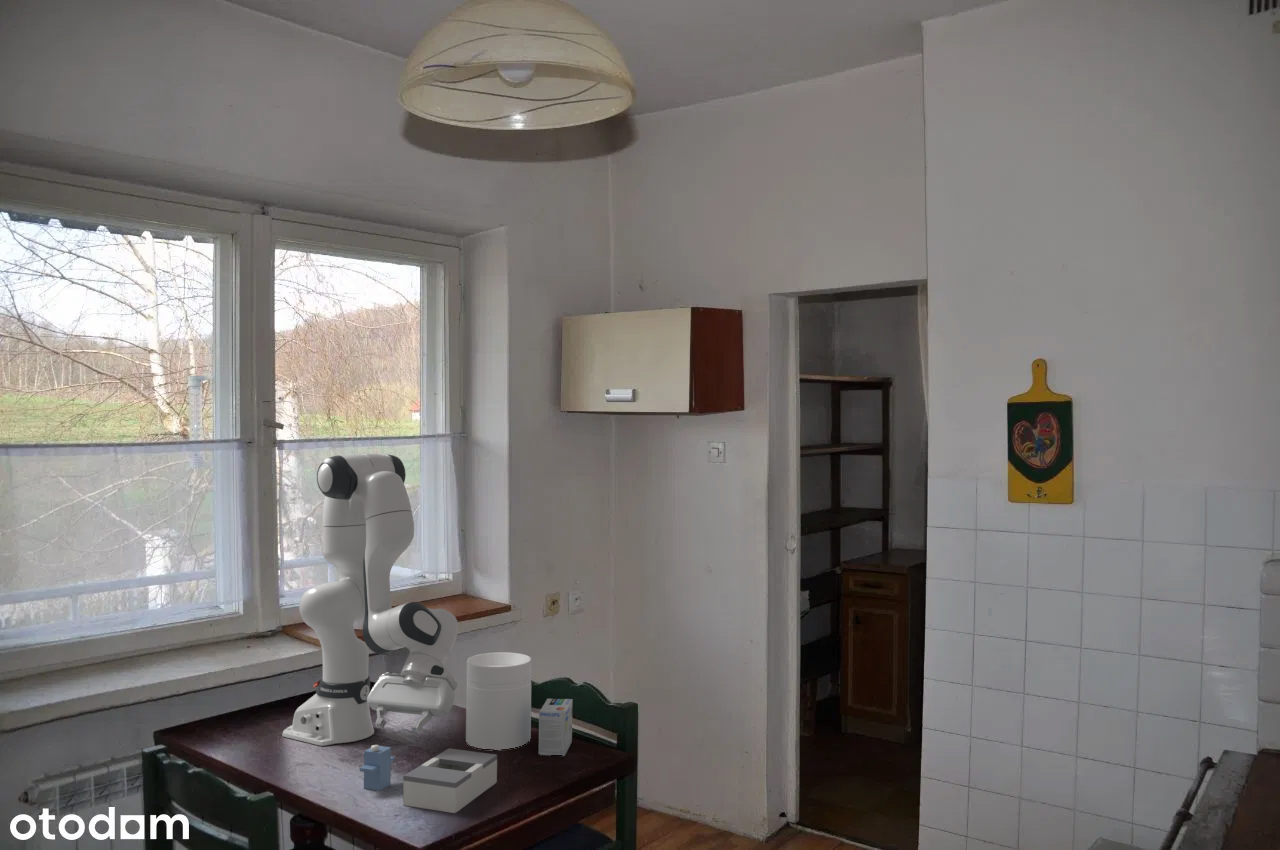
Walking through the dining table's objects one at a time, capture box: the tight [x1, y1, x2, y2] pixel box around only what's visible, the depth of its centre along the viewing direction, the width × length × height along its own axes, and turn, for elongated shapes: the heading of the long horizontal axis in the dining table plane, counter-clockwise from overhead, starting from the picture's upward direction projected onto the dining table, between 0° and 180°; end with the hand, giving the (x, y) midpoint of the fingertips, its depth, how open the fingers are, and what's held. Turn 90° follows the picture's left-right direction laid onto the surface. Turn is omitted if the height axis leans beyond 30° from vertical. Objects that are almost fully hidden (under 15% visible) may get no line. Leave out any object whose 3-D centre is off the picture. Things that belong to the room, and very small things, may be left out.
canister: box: [465, 651, 533, 751], centre depth 233 cm, size 16×16×20 cm
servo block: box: [359, 744, 396, 792], centre depth 201 cm, size 4×8×9 cm, turn 161°
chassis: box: [402, 748, 498, 814], centre depth 197 cm, size 12×18×6 cm, turn 161°
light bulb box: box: [538, 698, 573, 757], centre depth 227 cm, size 11×7×11 cm, turn 175°
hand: (397, 729), depth 207 cm, fingers open, 8 cm apart
